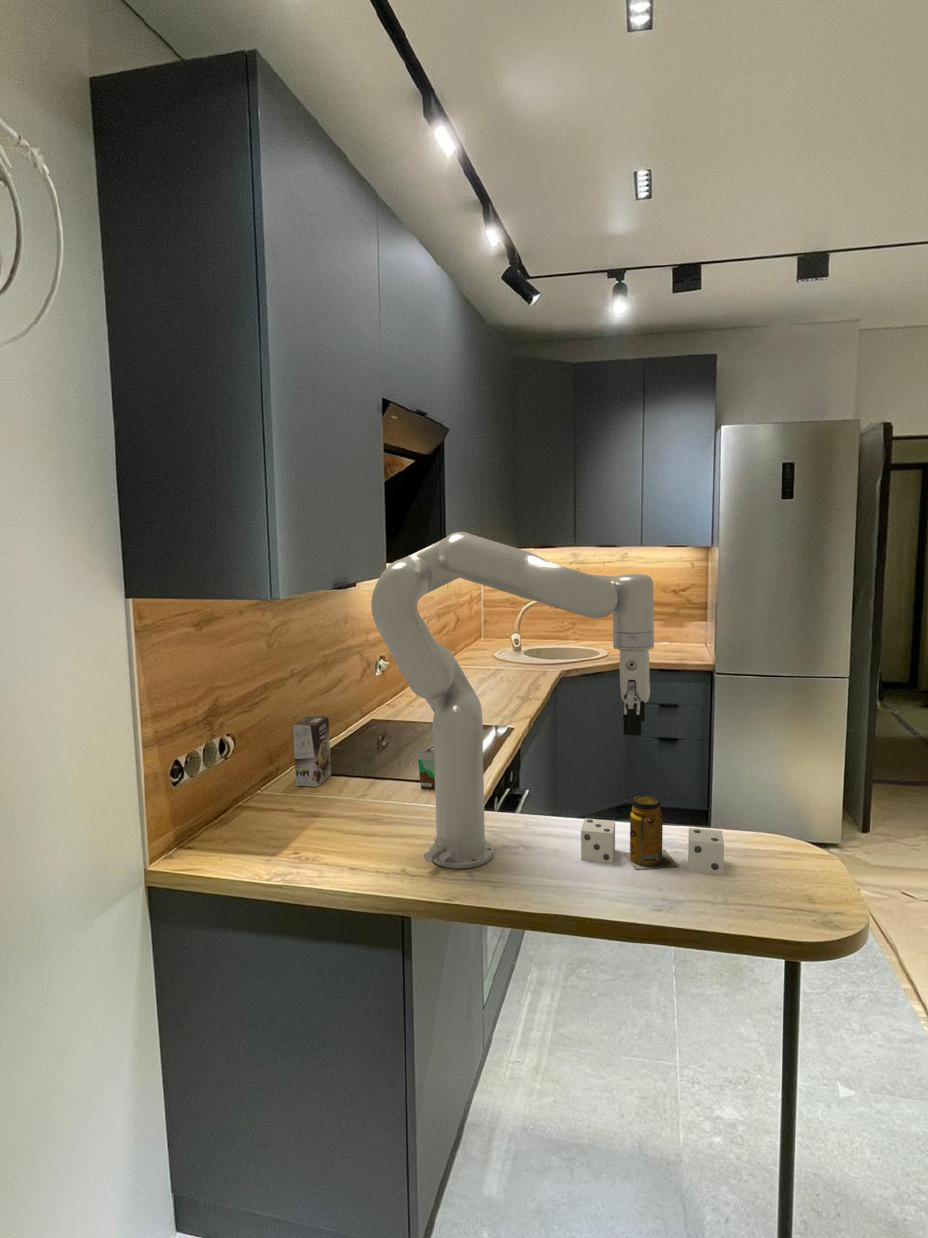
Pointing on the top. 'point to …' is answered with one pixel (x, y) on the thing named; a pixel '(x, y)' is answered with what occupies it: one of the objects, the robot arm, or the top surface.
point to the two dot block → (706, 851)
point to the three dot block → (598, 840)
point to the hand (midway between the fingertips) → (634, 727)
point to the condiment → (647, 835)
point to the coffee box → (312, 751)
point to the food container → (426, 768)
